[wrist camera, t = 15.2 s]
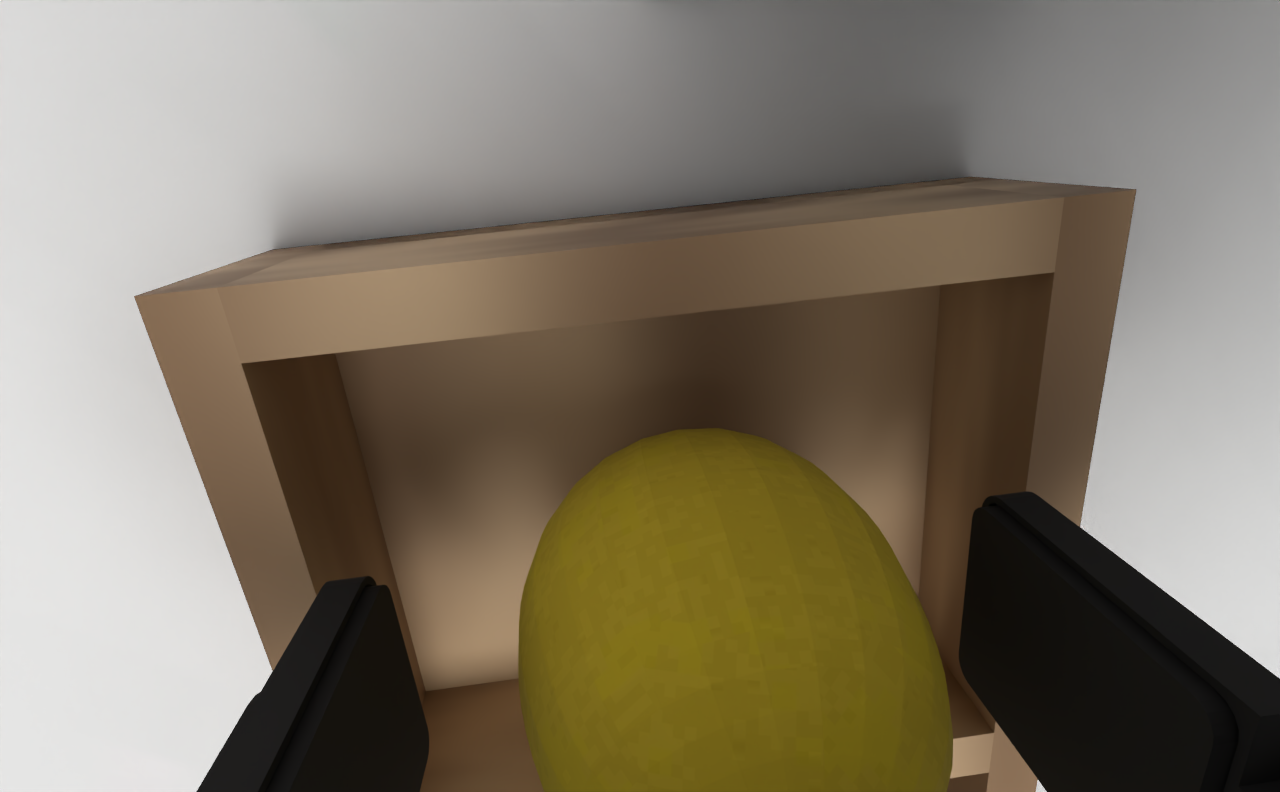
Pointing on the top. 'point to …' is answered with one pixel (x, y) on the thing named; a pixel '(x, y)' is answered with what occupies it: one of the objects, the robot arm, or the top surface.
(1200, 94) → the top surface
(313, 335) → the caddy
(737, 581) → the lemon
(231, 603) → the top surface
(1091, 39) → the top surface
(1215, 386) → the top surface
